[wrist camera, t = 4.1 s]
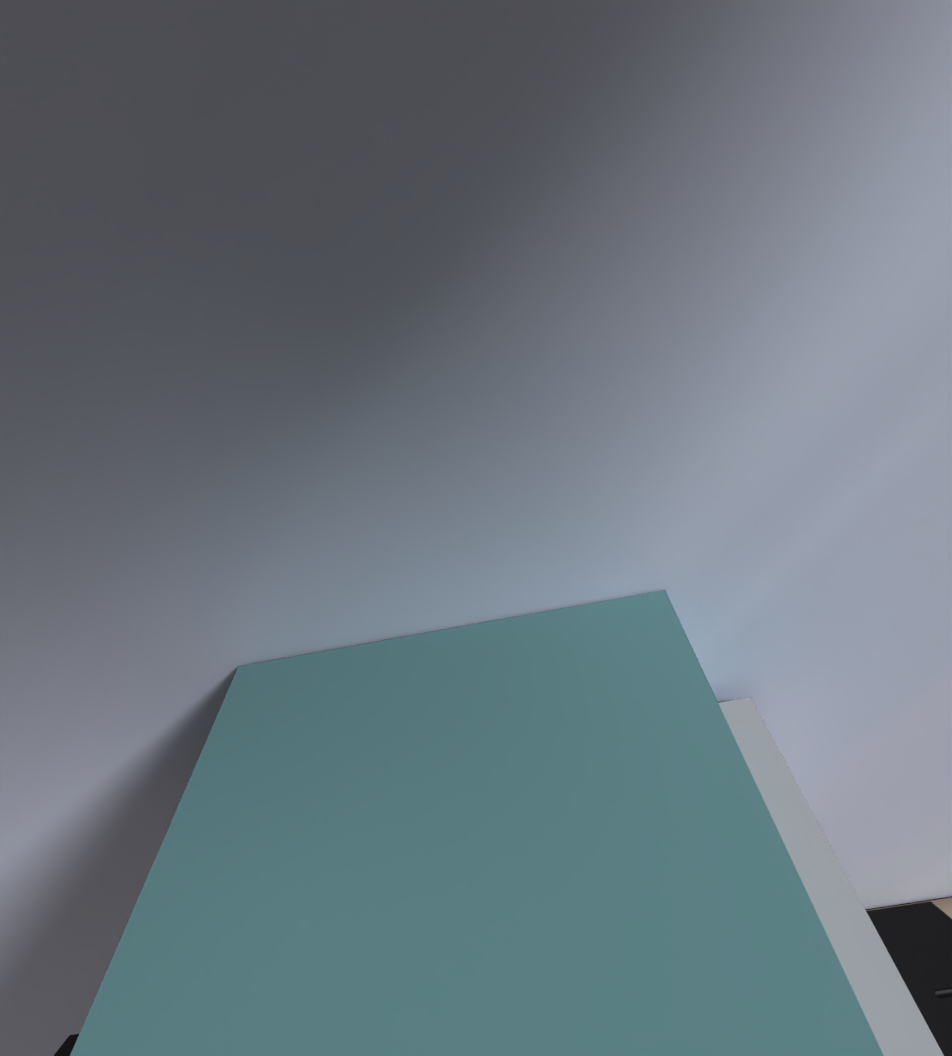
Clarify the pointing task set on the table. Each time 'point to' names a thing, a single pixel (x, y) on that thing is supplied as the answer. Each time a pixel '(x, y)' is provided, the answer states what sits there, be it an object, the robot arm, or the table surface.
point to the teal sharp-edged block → (477, 863)
